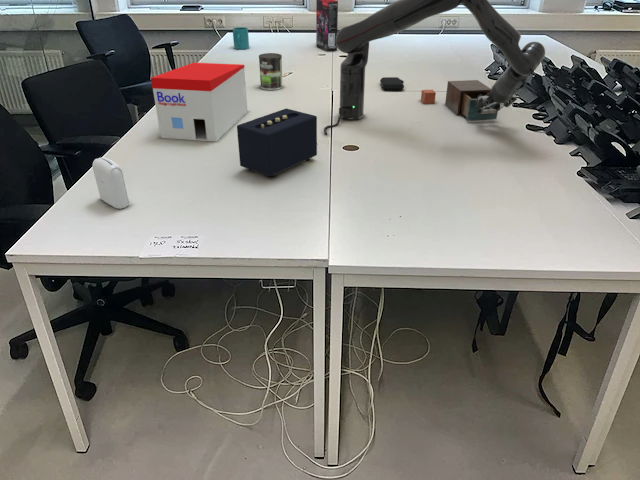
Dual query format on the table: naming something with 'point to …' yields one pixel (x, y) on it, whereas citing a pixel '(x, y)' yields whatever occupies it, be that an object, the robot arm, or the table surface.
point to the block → (428, 96)
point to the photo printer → (110, 182)
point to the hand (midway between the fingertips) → (486, 110)
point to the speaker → (277, 141)
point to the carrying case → (392, 83)
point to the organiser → (461, 87)
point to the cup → (240, 38)
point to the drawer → (470, 108)
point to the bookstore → (199, 100)
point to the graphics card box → (326, 24)
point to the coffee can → (270, 71)
